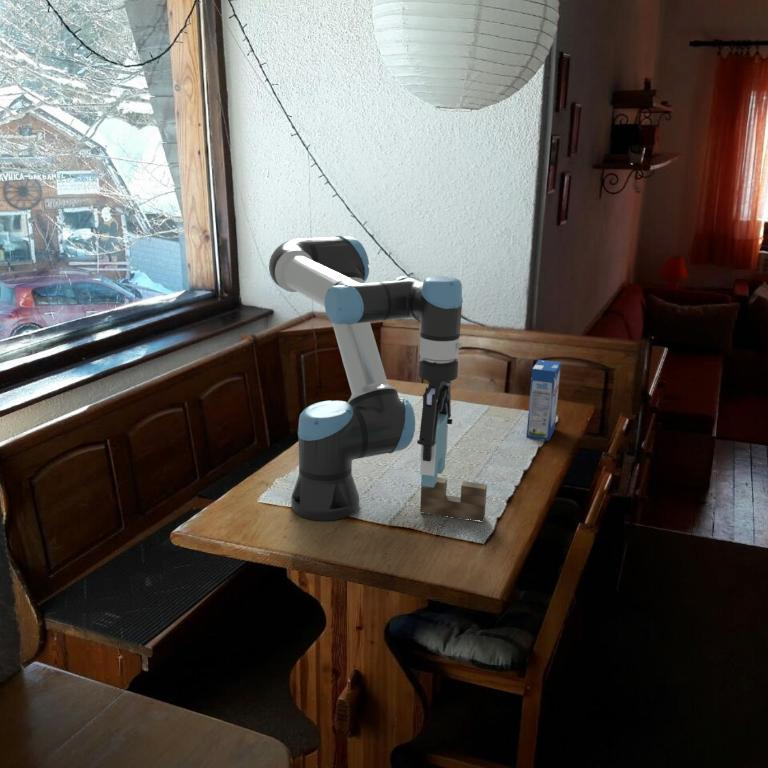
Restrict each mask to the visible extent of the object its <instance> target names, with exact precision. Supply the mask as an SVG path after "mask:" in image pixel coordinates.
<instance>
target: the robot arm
mask: <svg viewBox="0 0 768 768" xmlns="http://www.w3.org/2000/svg"><path fill="white" fill-rule="evenodd" d="M369 265H370V261H369V257H368V253H367V251H366V248H365V247H364V246H363V244H362V243H361V242H360V240H358V239H356V238H354V237H352V236H342V235H336V236H330V237H329V236H328V237H327V236H326V237H305V238H303V237H302V238H301V237H299V238H298V237H297V238H293V239H289V240H287V241H285V242H283V243H281V244H280V245H279V246H277V247H276V248H275V250H274V251H273V252H272V254H271V255H270V258H269V264H268V272H269V276H270V277H271V279H272V281H273V282H274V283H275V284H276V285H277V286H278V287H279V288H281V289H282V290H285V291H287V292H290V293H298V294H301V295H302V296H304V297H306V298H308V299H310V300H312V301H313V302H315V303H316V304H319V305H320V306H322V307H324V309H325V313H326V315H327V317H328V319H329V321H330V322H331V324H332V327H333V331H334V333H335V338H336V342H337V345H338V349H339V353H340V356H341V360H342V364H343V367H344V370H345V374H346V377H347V381H348V385H349V388H350V391H351V395H350V398H349V399H348V401H344V400H340V399H339V400H324V401H319V402H315V403H313V404H310V405H309V406H307V407H305V408H304V409H303V410H302V412H301V413H300V414H299V418H298V427H297V428H298V429H297V436H298V476H297V479H296V482H295V484H294V488H293V491H292V492H291V493H292V494H291V497H290V498H291V500H290V501H291V502H290V503H291V510H292V511H293V512H294V513H295V515H297V516H298V517H299V516H300V517H302V518H303V519H304V518H305V519H308V520H312V521H327V522H328V521H336V520H341V519H344V518H345V519H346V518H348V517H350V516H351V515H350V514H352V513H354V512H355V511H356V510H357V509H358V510H359V508H360V507H359V506H360V496H359V492H358V489H357V485H356V483H355V479H354V477H353V473H352V471H353V470H352V466H353V463H352V462H353V461H354V460H358V459H364V458H368V457H375V456H380V455H384V454H393V453H396V452H399V451H403V450H405V449H407V448H408V447H409V446H410V445H411V443H412V441H413V439H414V437H415V431H416V414H415V411H414V408H413V406H412V404H411V402H410V401H409V400H408V399H406V398H403V397H399V393H398V390H397V388H395V387H393V386H391V385H390V384H389V383H388V380H387V376H386V372H385V370H384V366H383V362H382V359H381V355H380V352H379V348H378V345H377V342H376V338H375V335H374V331H373V329H372V325H371V322H380V321H382V322H383V321H391V320H393V321H394V320H400V319H401V320H403V319H413V320H415V321H418V322H420V334H419V335H420V337H419V353H418V354H419V356H420V359H419V360H418V361H419V362H418V366H419V367H418V376H419V377H420V378H421V379H422V380H425V381H427V382H428V385H427V386H426V387H425V391H424V393H423V395H422V408H421V409H422V410H421V420H420V426H419V427H420V428H419V429H420V430H419V438H418V439H417V442H416V443H417V444H418V445H421V448H420V468H419V469H420V471H419V475H421V476H422V475H429V476H434V475H435V455H436V444H435V437H436V430H437V424H438V418H439V414H445V415H447V414H448V416H447V434H446V452H445V457H446V456H447V452H448V434H449V425H452V424H453V419H452V418H451V417H452V414H451V413H452V411H451V410H452V407H451V382H452V381H454V380H456V379H457V378H458V372H459V371H458V370H459V360H458V359H457V358H458V357H459V354H460V353H459V351H460V349H462V348H463V343H461V342H460V334H461V322H462V308H463V301H464V300H463V299H464V298H463V284H462V281H461V280H460V279H458V278H456V277H453V276H450V277H449V276H445V275H435V276H434V275H433V276H428V277H426V278H424V279H423V280H421V279H419V278H416V277H414V276H407V275H404V276H403V275H401V276H399V277H396V278H394V279H393V280H390V281H378V282H377V281H376V282H366V281H367V279H368V278H369V274H370V267H369ZM425 438H426V439H425ZM358 507H359V508H358ZM358 510H357V511H358ZM357 511H356V512H357ZM356 512H355V513H356ZM355 513H354V514H355ZM349 515H350V516H349ZM352 515H353V514H352Z"/></svg>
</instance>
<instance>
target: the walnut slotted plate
mask: <svg viewBox="0 0 768 768" xmlns="http://www.w3.org/2000/svg"><path fill="white" fill-rule="evenodd" d="M447 482H448V478H446V477H445V478H444V477H438V476H437V482H436V484H435V486H434V487H426V486H421V485H420V486H421V487H420V504H419V505H420V506H419V510H420V511H419V513H420V512H424V513H430V514H435V515H434V516H437V515H441V516H440V517H443V516H448V517H447V518H449V517H453V518H452V519H456V518H461V519H460V520H462V519H469V520H470V519H471V520H480V521H483V519H484V520H485V518H484V517H486V502H487V491H488V484H486V483H480V482H473V481H465V480H463V482H462V483H461V486H460V487H461V488H460V497H459V496H453V495H447V488H448V487H447V485H448V483H447ZM424 513H423V514H424ZM430 514H429V515H430ZM483 522H484V521H483Z"/></svg>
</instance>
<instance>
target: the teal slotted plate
mask: <svg viewBox="0 0 768 768" xmlns="http://www.w3.org/2000/svg"><path fill="white" fill-rule="evenodd" d="M447 416H448V414H447V415H445V414H439V418H438V424H437V430H436V437H435V444H436V455H435V475H434V476H429V475H422V474H421V479H420V480H421V481H420V482H421V483H420V486H426V487H434V486H435V484H436V482H437V477H438V474H439V475H440V474H441V475H442V473H443V471H444V470H445V469H446V468H445V467H446V456H445V452H446V434H447V425H448V424H447ZM425 439H426V438H425Z"/></svg>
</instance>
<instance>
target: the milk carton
mask: <svg viewBox="0 0 768 768" xmlns="http://www.w3.org/2000/svg"><path fill="white" fill-rule="evenodd" d="M561 367H562V362H560V361H554V360H553V361H552V360H543V359H538V360H537V361H536V363H535V364H534V366H533V367H532V368H531V379H530V392H529V402H528V415H527V426H526V438H528V439H534V438H536V439H535V440H540V439H544V440H543V441H548V442H549V441H550V439H551V437H552V435H553V433H554V431H555V430H556V421H557V420H556V418H557V409H558V408H557V407H558V400H559V387H560V378H561V370H562V369H561Z"/></svg>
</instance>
